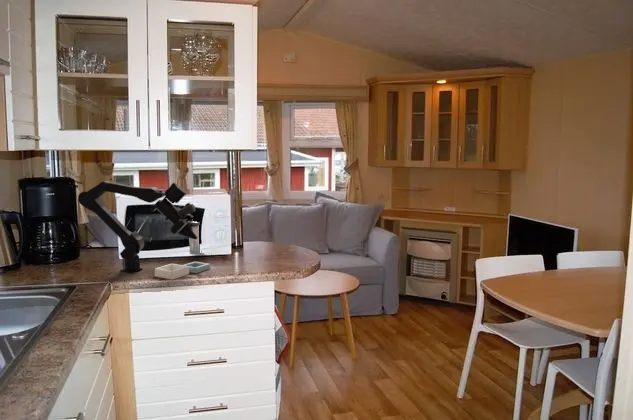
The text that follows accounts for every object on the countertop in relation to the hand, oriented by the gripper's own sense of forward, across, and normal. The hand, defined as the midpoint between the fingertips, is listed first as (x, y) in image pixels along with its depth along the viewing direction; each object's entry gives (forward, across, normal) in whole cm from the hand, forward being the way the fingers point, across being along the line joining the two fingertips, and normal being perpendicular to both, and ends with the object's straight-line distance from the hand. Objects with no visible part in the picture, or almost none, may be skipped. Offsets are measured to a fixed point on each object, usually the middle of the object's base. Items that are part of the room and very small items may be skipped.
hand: (197, 237), depth 212 cm
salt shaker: (+4, 0, +6) cm, 7 cm away
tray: (+3, -8, +16) cm, 18 cm away
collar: (+8, 0, +10) cm, 14 cm away
